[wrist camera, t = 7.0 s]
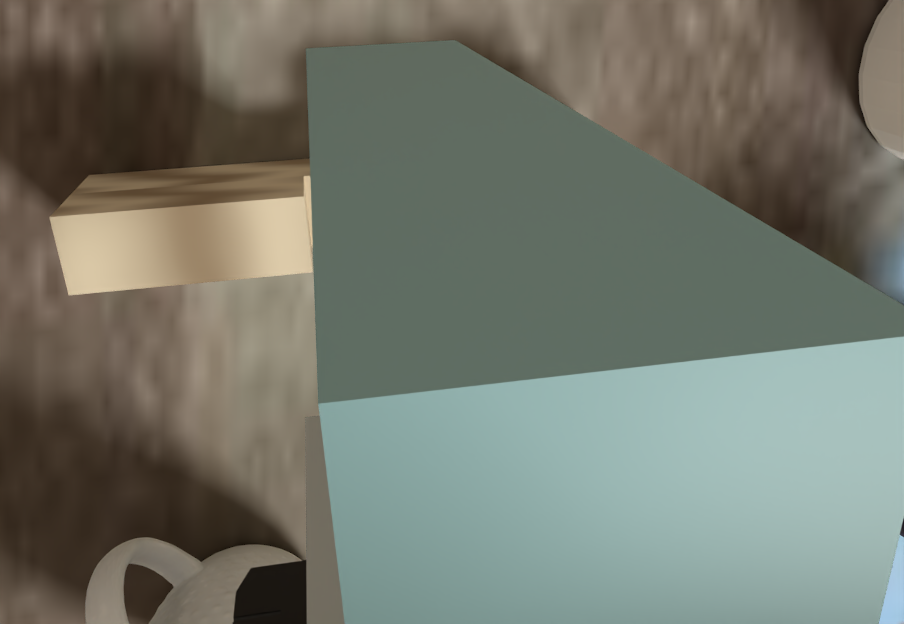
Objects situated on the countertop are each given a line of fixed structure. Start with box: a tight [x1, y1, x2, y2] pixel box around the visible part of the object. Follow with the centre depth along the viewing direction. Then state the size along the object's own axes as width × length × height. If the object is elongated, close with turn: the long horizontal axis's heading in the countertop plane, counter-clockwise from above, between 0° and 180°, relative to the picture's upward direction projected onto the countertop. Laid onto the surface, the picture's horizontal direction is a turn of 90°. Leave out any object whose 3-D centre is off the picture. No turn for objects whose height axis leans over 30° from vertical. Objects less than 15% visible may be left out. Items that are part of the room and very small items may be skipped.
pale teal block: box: [306, 40, 904, 624], centre depth 13 cm, size 16×3×14 cm, turn 2°
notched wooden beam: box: [50, 159, 313, 295], centre depth 34 cm, size 22×3×6 cm, turn 92°
